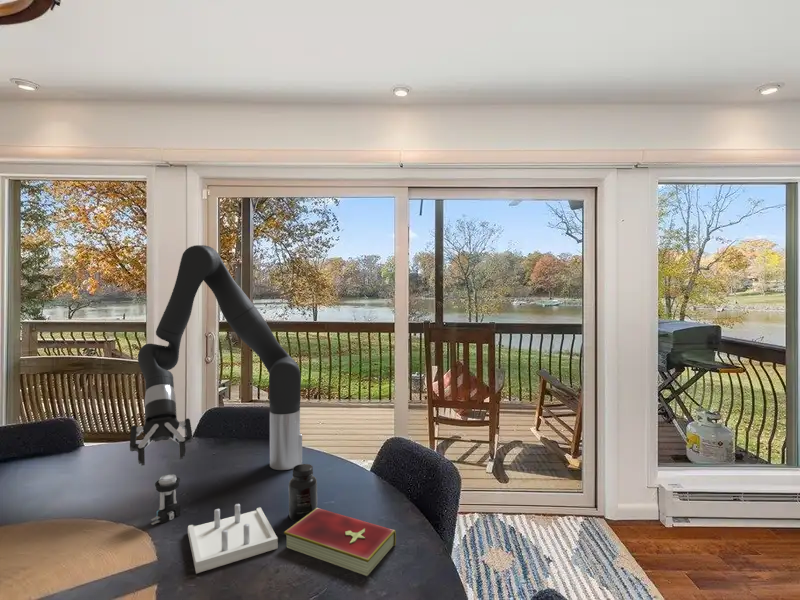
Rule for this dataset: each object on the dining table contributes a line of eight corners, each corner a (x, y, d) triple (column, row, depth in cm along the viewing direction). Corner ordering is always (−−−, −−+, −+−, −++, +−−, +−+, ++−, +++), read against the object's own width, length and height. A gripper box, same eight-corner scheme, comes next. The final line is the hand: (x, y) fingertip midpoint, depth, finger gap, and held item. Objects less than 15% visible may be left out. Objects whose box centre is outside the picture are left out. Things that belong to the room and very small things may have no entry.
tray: (259, 514, 107) (259, 493, 107) (277, 548, 93) (277, 524, 93) (187, 533, 99) (187, 510, 98) (196, 573, 85) (195, 547, 85)
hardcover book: (318, 522, 104) (318, 505, 104) (395, 546, 95) (396, 528, 95) (283, 550, 94) (283, 530, 93) (367, 580, 84) (368, 558, 84)
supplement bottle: (322, 511, 109) (322, 464, 108) (307, 525, 102) (308, 475, 102) (298, 506, 111) (298, 460, 110) (283, 520, 104) (282, 471, 104)
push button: (158, 529, 100) (158, 486, 100) (145, 523, 103) (144, 481, 102) (185, 516, 106) (184, 475, 105) (171, 510, 108) (171, 471, 108)
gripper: (129, 401, 114) (129, 459, 104) (190, 394, 121) (194, 448, 112) (130, 415, 118) (129, 473, 109) (188, 408, 126) (192, 461, 116)
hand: (162, 460), depth 110 cm, fingers open, 8 cm apart
